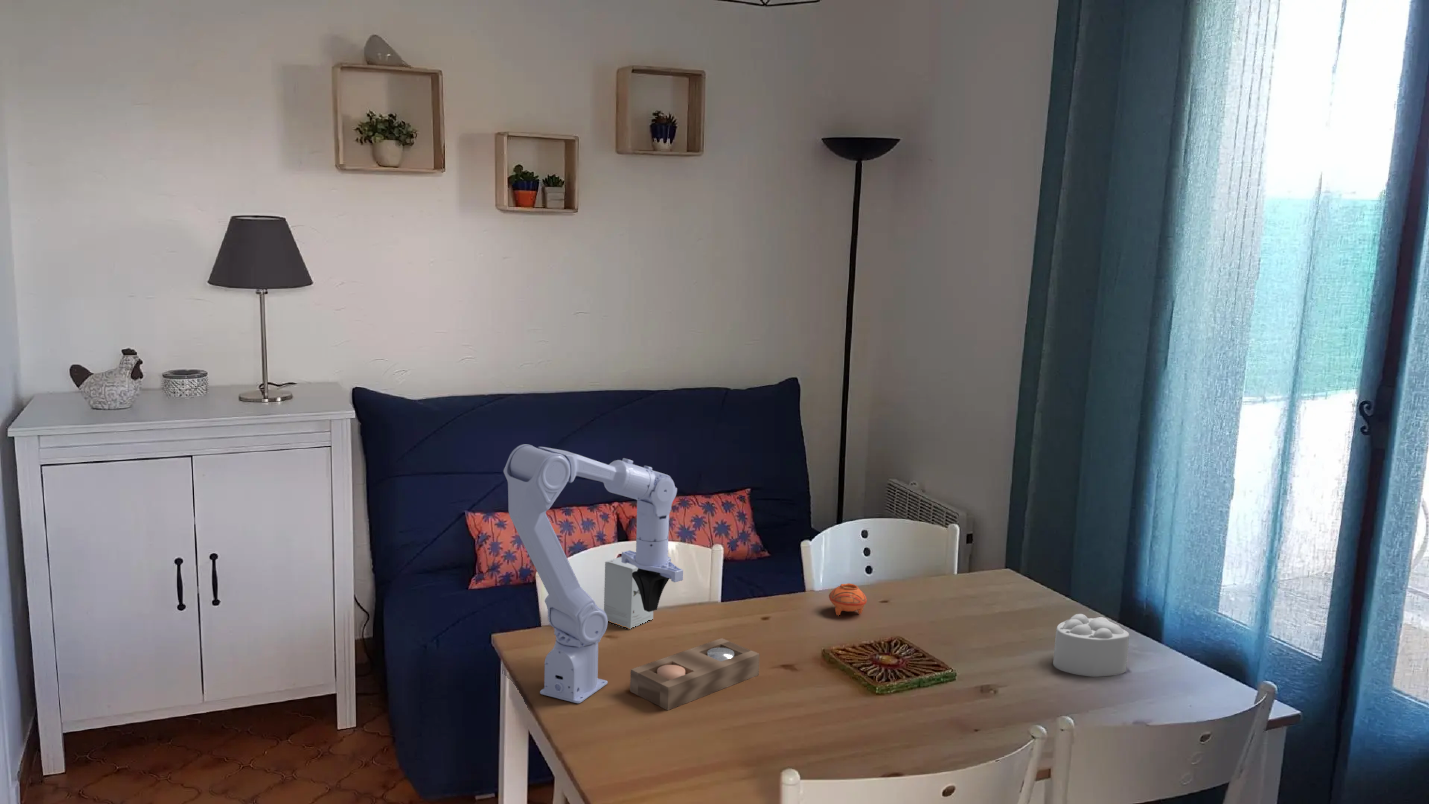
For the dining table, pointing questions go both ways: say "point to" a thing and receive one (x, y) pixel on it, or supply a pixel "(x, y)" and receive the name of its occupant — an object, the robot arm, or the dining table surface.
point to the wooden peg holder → (694, 674)
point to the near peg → (671, 671)
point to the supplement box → (623, 595)
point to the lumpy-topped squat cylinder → (1090, 647)
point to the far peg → (720, 653)
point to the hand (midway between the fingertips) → (650, 609)
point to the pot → (847, 598)
